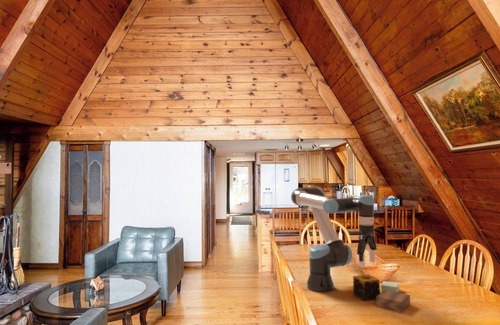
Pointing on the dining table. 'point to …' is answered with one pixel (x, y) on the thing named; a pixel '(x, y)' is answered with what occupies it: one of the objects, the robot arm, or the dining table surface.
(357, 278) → the candle
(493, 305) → the dining table surface
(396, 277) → the dining table surface
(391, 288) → the sage block
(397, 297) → the walnut plinth
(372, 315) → the dining table surface
